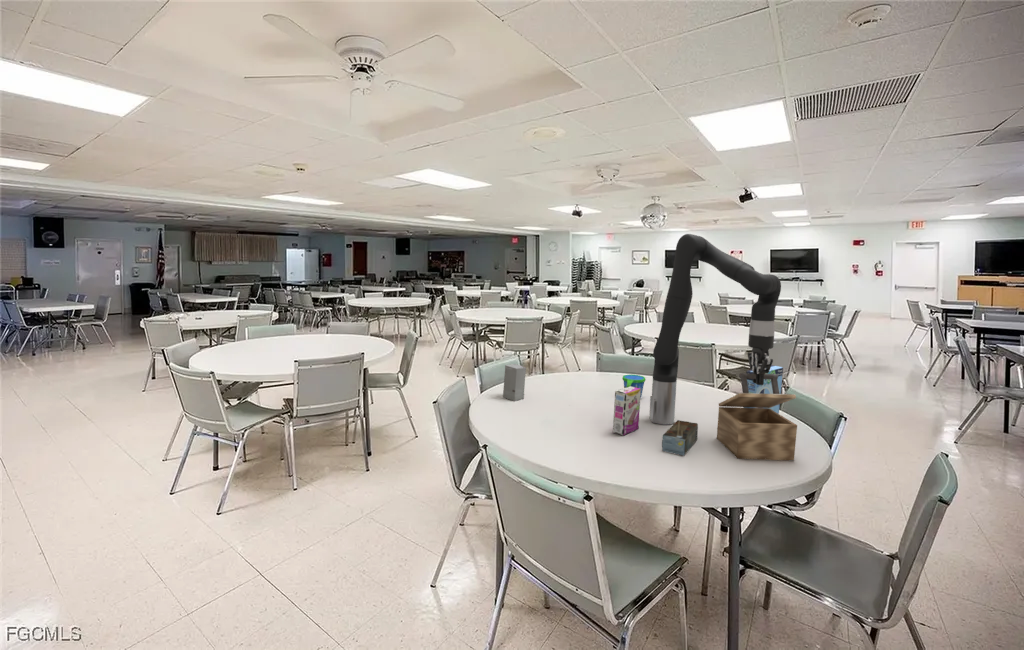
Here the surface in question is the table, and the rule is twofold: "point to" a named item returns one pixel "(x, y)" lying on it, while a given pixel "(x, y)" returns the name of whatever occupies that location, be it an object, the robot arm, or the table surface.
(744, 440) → the wooden box
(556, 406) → the table surface
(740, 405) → the lid
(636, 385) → the snack cup
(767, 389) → the gum box
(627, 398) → the candy bar box
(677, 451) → the beverage carton
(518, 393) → the skincare box
